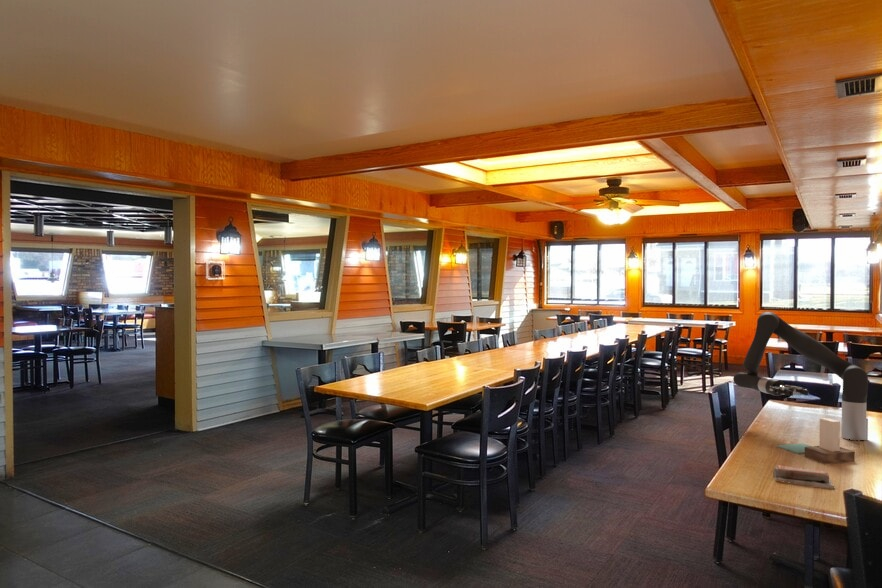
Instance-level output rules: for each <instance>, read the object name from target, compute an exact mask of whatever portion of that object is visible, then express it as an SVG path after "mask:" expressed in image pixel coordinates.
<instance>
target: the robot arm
mask: <svg viewBox="0 0 882 588" xmlns="http://www.w3.org/2000/svg"><path fill="white" fill-rule="evenodd" d="M755 328H756V329H755V333H754V337H753V338H752V339H753V340H752V341H751V344H750V346H749V347H748V350H747V353H746V356H745V358H744V360H743V363H742V367H743V369H746V370H747V372H737V373H735V375H733V378H732V379H733V383H734V384H735V385H736V386H738V387H741V388H747V389H752V390H755V391H757V392H758V391H759V392H762V393H764V394H769V395H772V396H776V397H781V396H782V395H784V396H790V397H793V395H796V394H798V395H803V396H809V395H810V393H809V392H810V391H809V390H808V389H805V387H801V386H796V385H789V384H785V382H783V380H780V379H776V378H771V377H765V376H760V375H758V374H759V367H760V365H761V363H762V360H763V358H764V354H765V352H766V348H767V345H768V344H769V343H768V342H769V341H770V339H771V337H772V336H773V334H774V335H775V336H777V337H779V338H780V339H782V340H783V341H784V342H785V343H787V344H788V345H789V346H790V348H792V349H793V350H795V351H796V353H799V354H800V355H801V356H803V357H805V358H806V359H807V360H809V361H812V362H813V363H815V364H816V365H820V366H822V367H824V368H826V369H828V370H829V371H830V372H832V373H834V375H836V376H837V377H839V378H840V379H841V380H842V394H841V424H840V437H841V438H843V439H844V440H845V439H846V440H849V439H850V440H849V441H856V440H858V441H859V442H861V441H860V440H864V441H866V440H869V439H868V437H869V436H868V435H869V434H868V433H869V427H868V426H869V419H868V418H867V401H868V400H867V398H868V389H869V388H868V387H869V376H868V374H867V372H866V371H865V370H864V369H863V368H862V367H861V366H859V365H856V364H853V363H852V362H849V361H848V360H845V359H844V358H842V357H840V356H839V355H837V354H836V353H835V352H834V351H832V350H831V349H830V348H828V347H827V346H826V345H824V344H823V343H821V342H820V341H818V340H817V339H815V338H814V337H812V336H810V335H808V334H807V333H804V332H803V331H801V330H799V329H797V328H795V327H794V326H791V325H790V324H789V323H787V321H785V320H784V319H782V318H781V317H779V316H778V314H776V313H774V312H772V311H765V312H762V313H760V314H759V316H758V318H757V321H756V327H755ZM858 441H857V442H858Z"/></svg>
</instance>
